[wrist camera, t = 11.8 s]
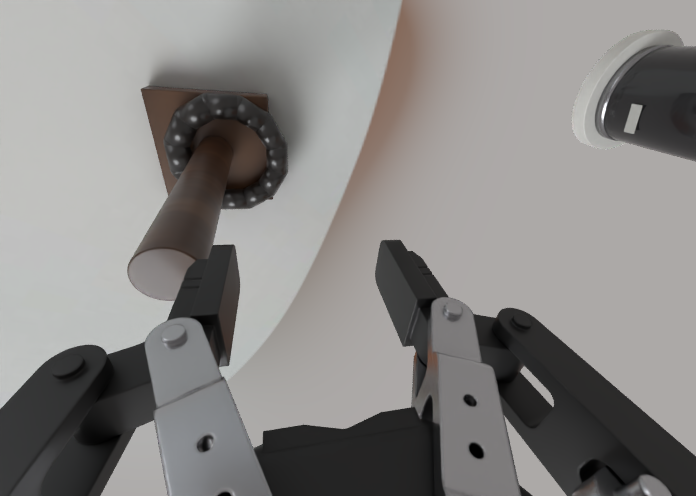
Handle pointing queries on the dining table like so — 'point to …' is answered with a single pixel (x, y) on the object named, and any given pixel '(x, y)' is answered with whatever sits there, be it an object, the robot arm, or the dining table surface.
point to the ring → (249, 115)
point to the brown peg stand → (192, 190)
